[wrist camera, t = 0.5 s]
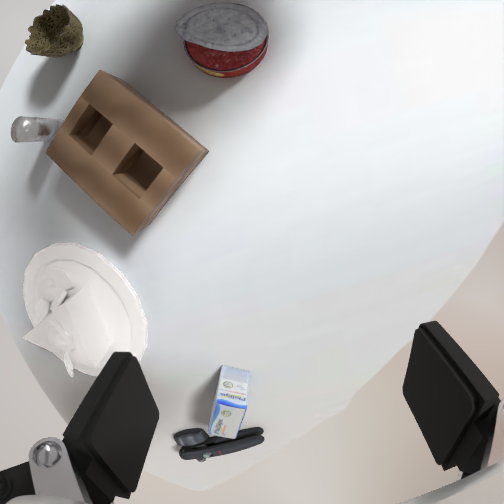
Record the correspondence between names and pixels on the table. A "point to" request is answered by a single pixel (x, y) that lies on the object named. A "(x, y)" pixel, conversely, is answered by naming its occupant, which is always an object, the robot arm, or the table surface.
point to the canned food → (224, 38)
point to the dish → (82, 308)
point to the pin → (35, 129)
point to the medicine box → (229, 402)
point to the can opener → (215, 443)
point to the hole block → (124, 151)
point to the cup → (55, 33)
